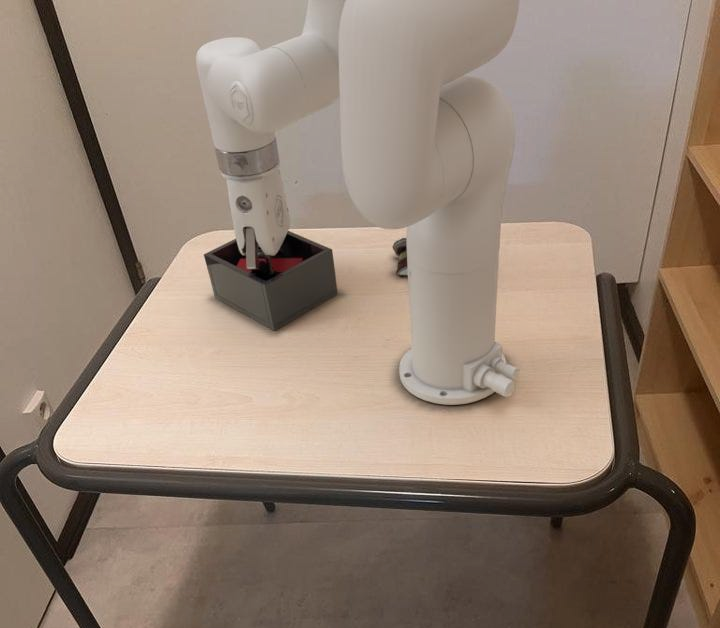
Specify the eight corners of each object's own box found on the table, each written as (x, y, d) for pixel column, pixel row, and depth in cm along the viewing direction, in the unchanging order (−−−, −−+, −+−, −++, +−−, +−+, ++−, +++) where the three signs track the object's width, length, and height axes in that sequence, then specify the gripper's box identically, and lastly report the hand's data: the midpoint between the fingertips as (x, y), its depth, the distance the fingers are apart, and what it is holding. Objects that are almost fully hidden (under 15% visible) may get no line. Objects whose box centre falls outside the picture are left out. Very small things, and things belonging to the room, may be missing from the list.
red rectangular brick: (306, 283, 102) (302, 257, 99) (301, 298, 99) (296, 271, 96) (246, 284, 103) (240, 258, 101) (239, 298, 101) (232, 272, 98)
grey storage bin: (338, 294, 101) (332, 249, 96) (274, 331, 95) (265, 285, 91) (276, 265, 108) (268, 222, 103) (214, 298, 103) (203, 254, 98)
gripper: (260, 184, 82) (286, 322, 95) (292, 129, 93) (311, 259, 106) (198, 186, 83) (231, 322, 96) (236, 131, 95) (262, 259, 108)
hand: (273, 287), depth 101 cm, fingers closed on red rectangular brick, 3 cm apart
